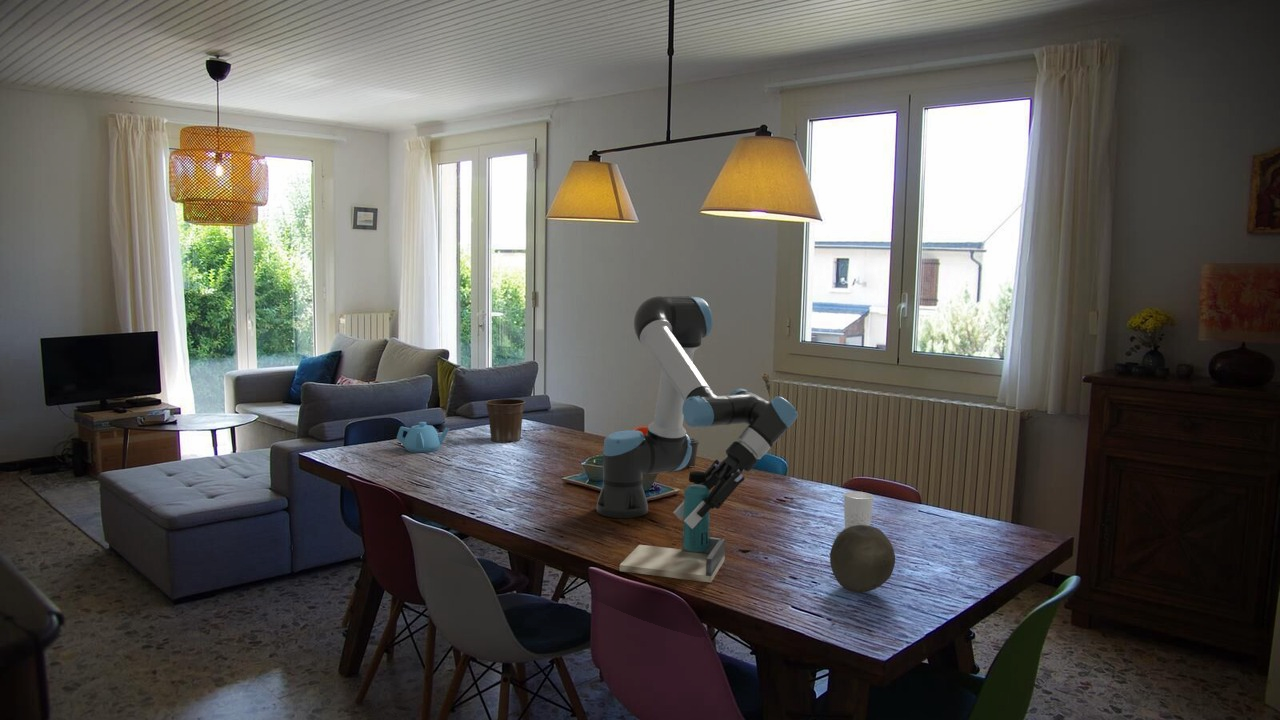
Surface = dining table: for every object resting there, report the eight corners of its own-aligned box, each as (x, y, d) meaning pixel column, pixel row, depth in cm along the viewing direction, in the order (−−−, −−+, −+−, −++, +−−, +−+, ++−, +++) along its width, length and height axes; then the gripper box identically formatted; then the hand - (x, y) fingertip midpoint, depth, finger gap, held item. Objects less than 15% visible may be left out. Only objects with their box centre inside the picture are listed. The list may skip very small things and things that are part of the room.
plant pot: (479, 442, 346) (479, 403, 344) (492, 435, 362) (493, 397, 360) (518, 444, 343) (518, 405, 341) (529, 437, 359) (530, 399, 357)
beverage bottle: (701, 559, 201) (704, 477, 199) (677, 554, 205) (679, 472, 202) (714, 552, 207) (716, 471, 204) (690, 547, 210) (692, 467, 208)
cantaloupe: (824, 598, 187) (827, 531, 185) (833, 577, 200) (836, 514, 198) (890, 608, 182) (894, 540, 180) (895, 586, 195) (899, 522, 193)
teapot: (426, 443, 342) (426, 417, 341) (450, 449, 332) (450, 421, 331) (394, 449, 330) (394, 422, 329) (418, 455, 320) (418, 427, 319)
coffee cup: (702, 465, 313) (703, 438, 312) (691, 469, 306) (692, 442, 305) (683, 462, 317) (684, 436, 316) (672, 466, 310) (673, 439, 309)
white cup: (855, 535, 232) (857, 500, 231) (836, 527, 239) (838, 493, 238) (877, 532, 236) (879, 497, 235) (858, 524, 243) (859, 490, 242)
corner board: (619, 570, 201) (619, 548, 200) (639, 550, 216) (639, 529, 216) (710, 582, 195) (711, 559, 194) (724, 560, 210) (725, 538, 209)
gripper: (774, 469, 199) (708, 543, 196) (739, 452, 217) (678, 519, 214) (754, 448, 197) (687, 522, 193) (721, 432, 215) (658, 499, 212)
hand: (682, 520), depth 204 cm, fingers closed on beverage bottle, 6 cm apart
